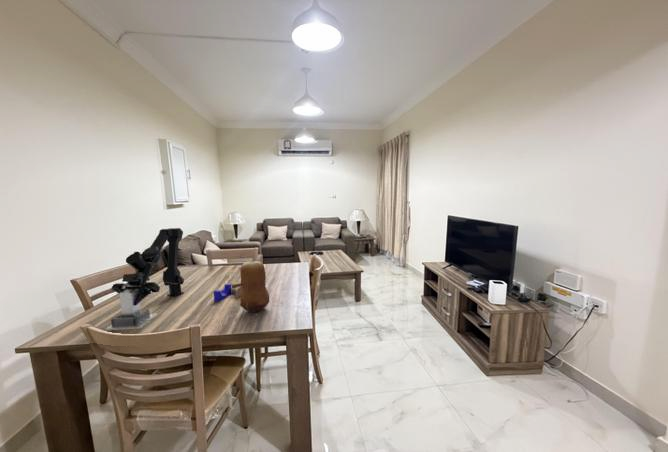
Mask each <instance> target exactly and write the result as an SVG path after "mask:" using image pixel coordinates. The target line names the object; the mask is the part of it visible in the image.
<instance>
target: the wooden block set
mask: <svg viewBox="0 0 668 452" xmlns="http://www.w3.org/2000/svg"><path fill="white" fill-rule="evenodd" d="M230 284H231V294H232V295H234V297H235V298H236V299H237V298H239V297H241V292H242V286H241V280H240V281H234V282H230Z"/></svg>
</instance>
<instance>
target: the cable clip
mask: <svg viewBox="0 0 668 452" xmlns="http://www.w3.org/2000/svg"><path fill="white" fill-rule="evenodd" d="M231 289H232V288H231V283H226V284H224V288H223V289H221V290H218V289H217V290H216V289H215V290H213V301H214V302H218V303H219V302H221V301H222V300H224V299H226V298H227V297H228V296H230V295H231V294H232V291H231Z"/></svg>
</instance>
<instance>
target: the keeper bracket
mask: <svg viewBox="0 0 668 452" xmlns="http://www.w3.org/2000/svg"><path fill="white" fill-rule="evenodd" d="M158 316H159V314H158V313H150V309H145V310H144V311H141V314H139V315H137V316H136V317H131V318H122V312H121V313H119V314H117V315H116V316H115V317H113V318H111V319H110V324H111V325H108V326H107V327H105V330H106V331H120V330H121V331H124V330H140V329H142V328H143V327H145V326H146V325H147V324H148V323H150V322H151V321H152V320H154V319H155V318H157V317H158Z"/></svg>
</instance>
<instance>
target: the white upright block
mask: <svg viewBox="0 0 668 452" xmlns="http://www.w3.org/2000/svg"><path fill="white" fill-rule="evenodd" d="M118 294H119V303H120V310H121V311H120V312H121V313H122V318H131V317H136V316H137V315H139V314H141V313H142V306H141V301H140V302H139V303H138V304H137V305H136V306H135V305H134V302H135V300H136V297H137V295H138V289H127V290H125V291H123V292H121V293H118Z"/></svg>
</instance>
